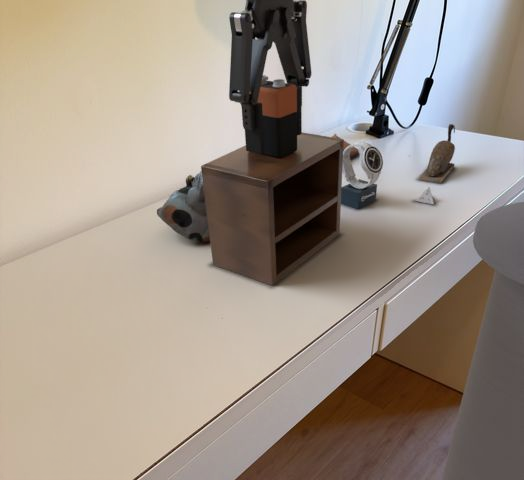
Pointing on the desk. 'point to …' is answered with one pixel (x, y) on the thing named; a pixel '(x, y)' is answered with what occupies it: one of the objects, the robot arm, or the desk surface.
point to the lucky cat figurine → (187, 210)
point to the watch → (359, 190)
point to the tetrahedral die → (426, 197)
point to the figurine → (440, 160)
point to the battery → (278, 117)
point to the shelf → (273, 206)
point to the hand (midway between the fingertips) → (274, 142)
